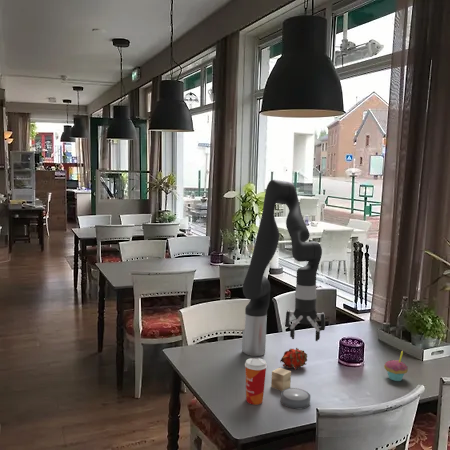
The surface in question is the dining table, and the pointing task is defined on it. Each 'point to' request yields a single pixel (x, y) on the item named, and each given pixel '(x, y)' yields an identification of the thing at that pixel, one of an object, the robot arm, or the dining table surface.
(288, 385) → the oak block
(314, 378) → the dining table surface
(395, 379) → the cupcake
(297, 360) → the dragon fruit
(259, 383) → the paper cup
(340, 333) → the dining table surface
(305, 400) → the pedestal
